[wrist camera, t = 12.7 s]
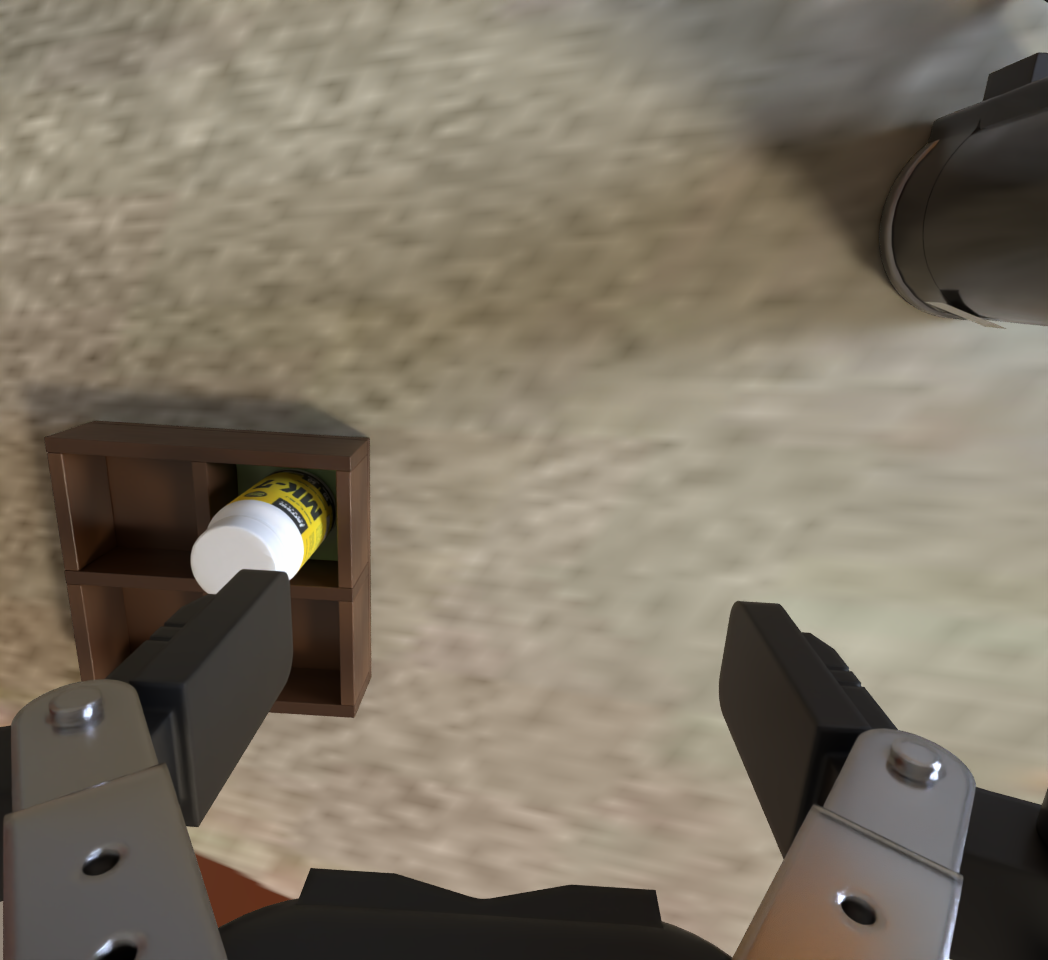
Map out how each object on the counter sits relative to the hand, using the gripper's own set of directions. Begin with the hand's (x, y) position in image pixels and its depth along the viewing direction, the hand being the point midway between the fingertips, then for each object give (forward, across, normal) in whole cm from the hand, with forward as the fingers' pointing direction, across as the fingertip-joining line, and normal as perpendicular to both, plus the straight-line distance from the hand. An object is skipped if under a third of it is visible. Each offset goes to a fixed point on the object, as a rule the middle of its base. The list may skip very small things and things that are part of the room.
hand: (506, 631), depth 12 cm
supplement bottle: (+26, +13, +7) cm, 29 cm away
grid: (+26, +16, +11) cm, 33 cm away
